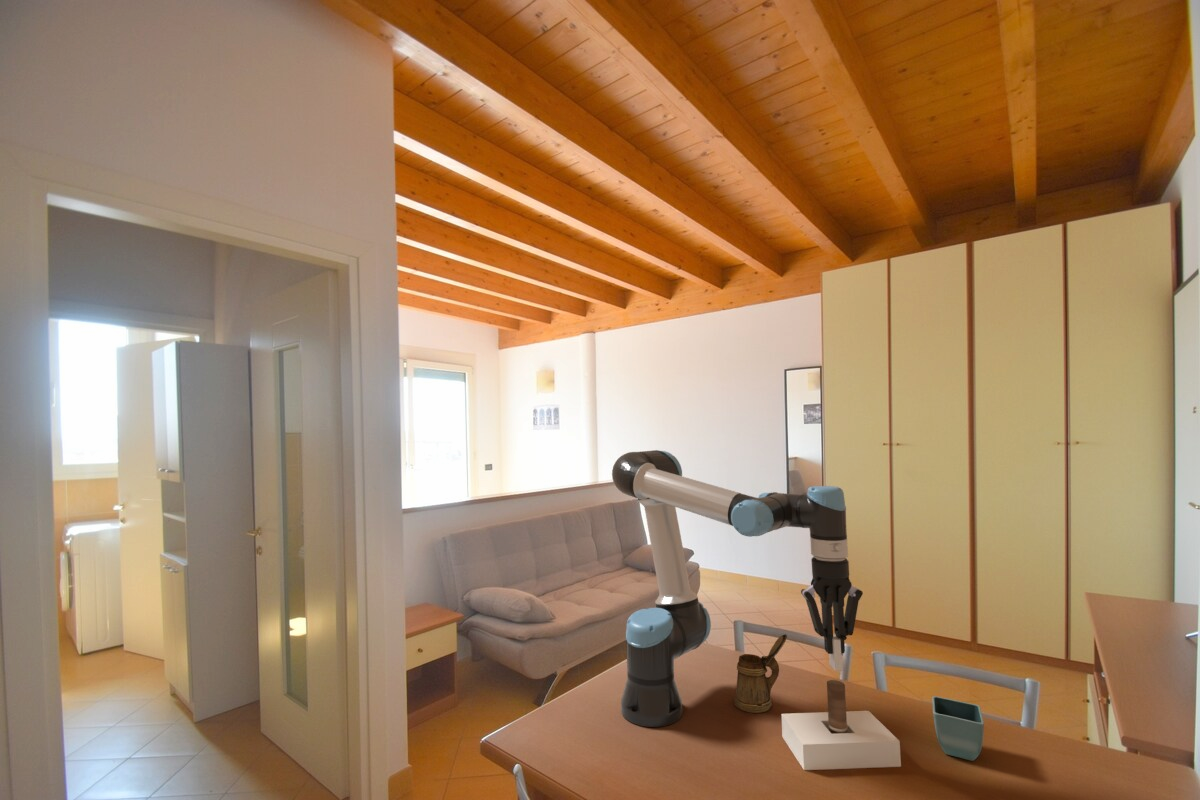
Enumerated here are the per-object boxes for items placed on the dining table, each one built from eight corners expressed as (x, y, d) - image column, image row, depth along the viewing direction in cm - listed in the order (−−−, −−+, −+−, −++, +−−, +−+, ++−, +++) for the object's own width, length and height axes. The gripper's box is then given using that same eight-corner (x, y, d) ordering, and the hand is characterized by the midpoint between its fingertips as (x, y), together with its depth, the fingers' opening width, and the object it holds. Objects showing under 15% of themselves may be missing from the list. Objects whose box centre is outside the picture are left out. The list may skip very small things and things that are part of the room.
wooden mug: (791, 718, 127) (787, 641, 129) (733, 710, 132) (730, 635, 133) (789, 700, 136) (786, 628, 137) (735, 693, 140) (732, 623, 141)
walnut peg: (826, 746, 116) (823, 680, 117) (843, 746, 116) (840, 679, 117) (834, 756, 112) (831, 688, 113) (851, 756, 112) (848, 687, 113)
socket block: (782, 736, 120) (781, 713, 120) (869, 733, 120) (868, 710, 121) (804, 770, 108) (802, 744, 108) (901, 766, 108) (899, 741, 109)
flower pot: (982, 747, 114) (979, 704, 115) (987, 770, 107) (984, 723, 107) (934, 736, 119) (931, 695, 119) (935, 757, 111) (933, 713, 112)
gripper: (807, 562, 113) (813, 677, 111) (867, 560, 113) (874, 674, 112) (793, 554, 120) (799, 662, 119) (850, 552, 121) (856, 660, 119)
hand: (835, 668), depth 115 cm, fingers closed
